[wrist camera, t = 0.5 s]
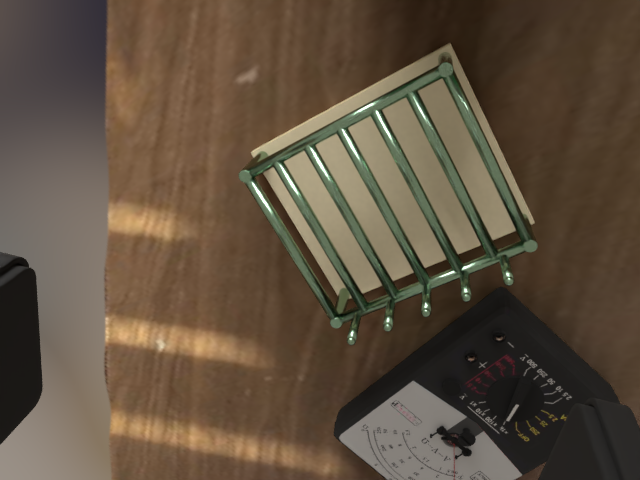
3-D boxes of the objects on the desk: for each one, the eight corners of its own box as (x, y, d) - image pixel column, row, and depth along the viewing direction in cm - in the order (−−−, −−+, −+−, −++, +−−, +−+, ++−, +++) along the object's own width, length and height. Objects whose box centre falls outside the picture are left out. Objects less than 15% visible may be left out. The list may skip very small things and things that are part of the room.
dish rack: (253, 149, 45) (212, 190, 37) (450, 42, 39) (452, 62, 31) (343, 297, 49) (323, 363, 41) (533, 219, 43) (554, 277, 35)
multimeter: (615, 386, 48) (633, 429, 43) (439, 494, 56) (439, 540, 51) (501, 280, 46) (508, 314, 41) (336, 409, 54) (326, 449, 49)
